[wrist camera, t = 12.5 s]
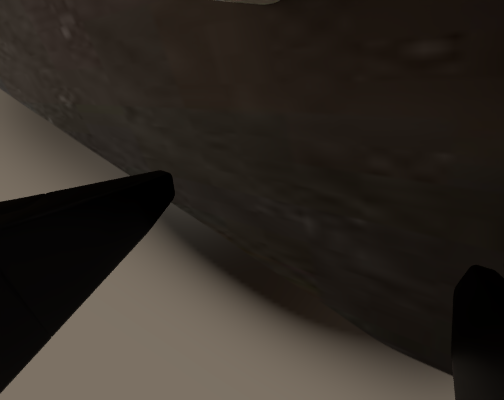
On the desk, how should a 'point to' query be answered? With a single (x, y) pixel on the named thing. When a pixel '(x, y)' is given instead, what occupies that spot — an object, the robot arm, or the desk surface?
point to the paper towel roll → (253, 1)
